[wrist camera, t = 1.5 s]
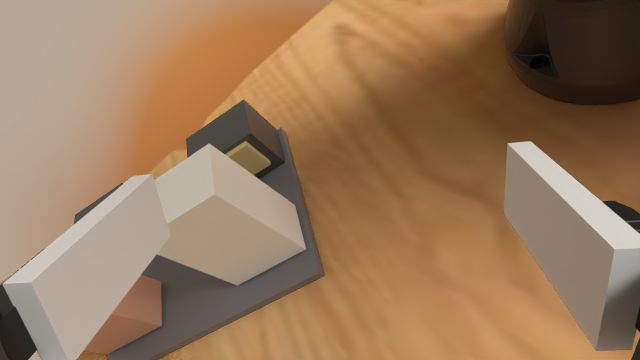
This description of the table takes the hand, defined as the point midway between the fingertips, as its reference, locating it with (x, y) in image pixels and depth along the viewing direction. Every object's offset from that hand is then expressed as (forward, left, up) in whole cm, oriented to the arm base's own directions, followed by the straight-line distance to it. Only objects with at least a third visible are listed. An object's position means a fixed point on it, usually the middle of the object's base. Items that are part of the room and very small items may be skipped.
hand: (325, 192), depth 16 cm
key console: (-2, -28, -20) cm, 35 cm away
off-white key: (-3, -18, -18) cm, 26 cm away
